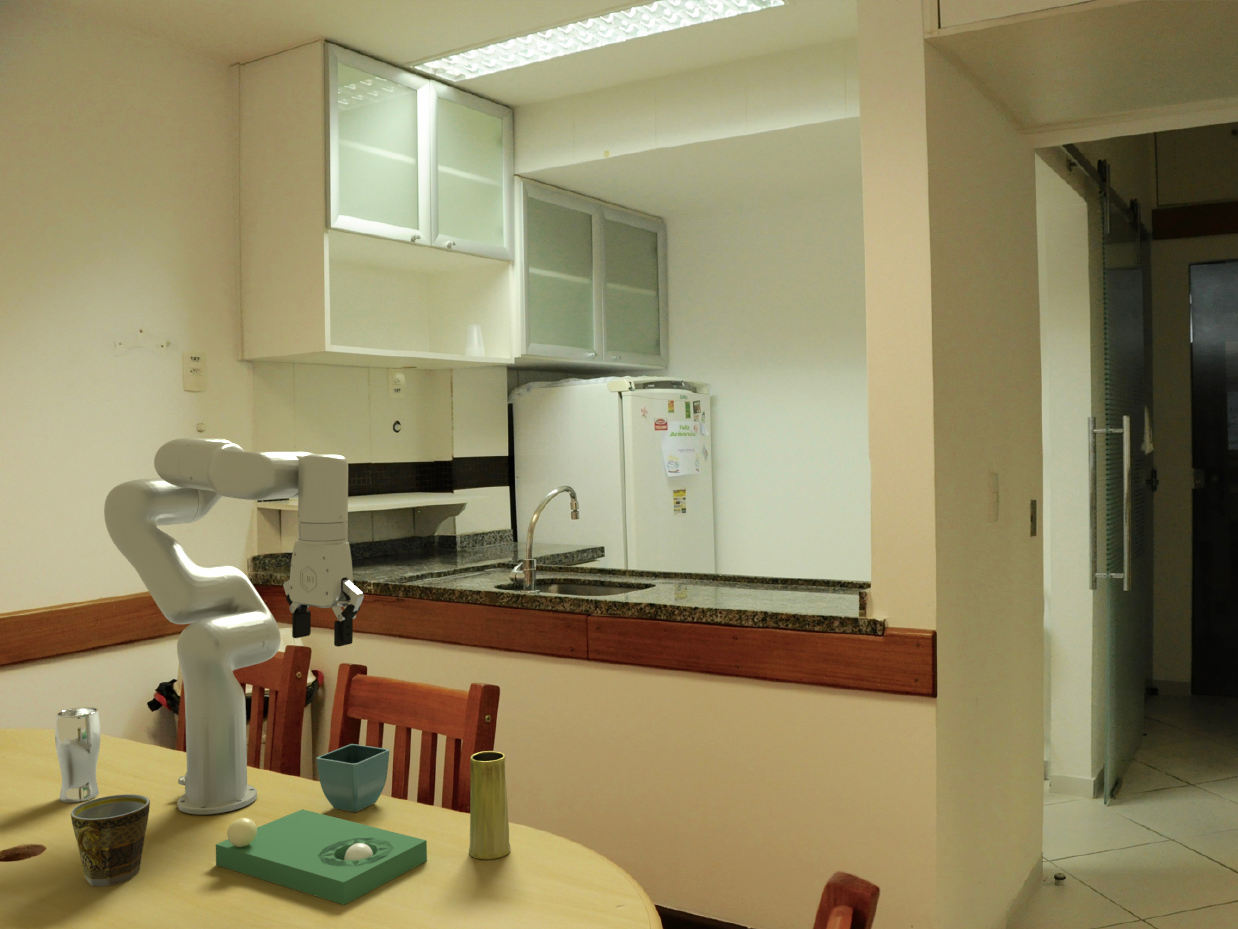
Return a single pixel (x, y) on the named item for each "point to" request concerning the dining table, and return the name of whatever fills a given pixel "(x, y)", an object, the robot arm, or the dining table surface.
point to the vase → (488, 806)
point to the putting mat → (323, 855)
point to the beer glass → (78, 752)
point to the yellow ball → (242, 832)
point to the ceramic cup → (111, 837)
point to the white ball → (358, 852)
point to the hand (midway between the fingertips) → (322, 640)
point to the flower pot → (353, 776)
